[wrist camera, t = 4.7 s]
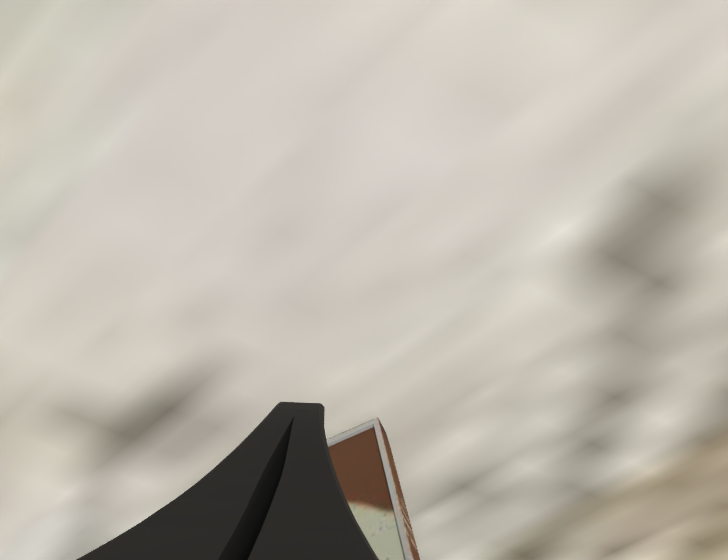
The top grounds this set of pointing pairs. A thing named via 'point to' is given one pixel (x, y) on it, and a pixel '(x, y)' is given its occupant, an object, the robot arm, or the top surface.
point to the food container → (374, 490)
